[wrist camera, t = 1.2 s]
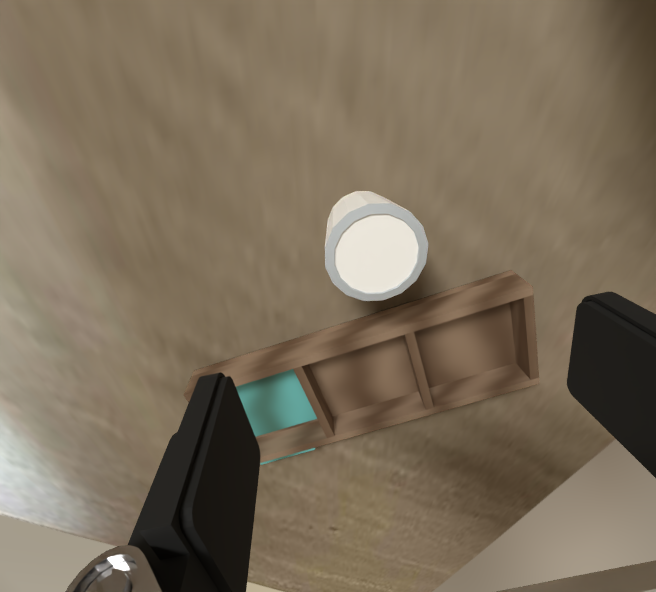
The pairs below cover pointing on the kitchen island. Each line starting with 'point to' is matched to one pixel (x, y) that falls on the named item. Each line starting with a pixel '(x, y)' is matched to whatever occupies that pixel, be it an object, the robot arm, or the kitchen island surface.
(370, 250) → the white cup
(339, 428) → the rack
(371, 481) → the kitchen island surface
